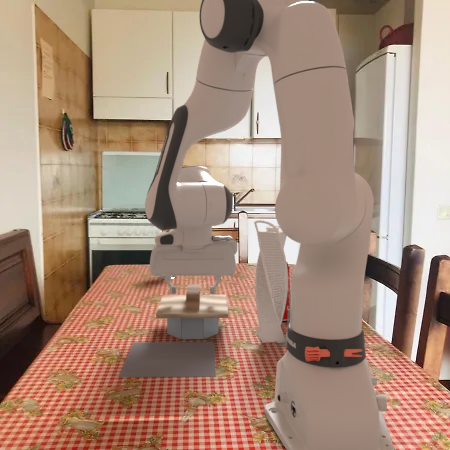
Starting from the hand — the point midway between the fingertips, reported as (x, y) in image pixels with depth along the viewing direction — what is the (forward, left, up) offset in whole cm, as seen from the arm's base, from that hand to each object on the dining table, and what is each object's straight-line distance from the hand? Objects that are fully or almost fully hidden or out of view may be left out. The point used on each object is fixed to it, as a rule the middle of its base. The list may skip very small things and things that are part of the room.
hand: (193, 293), depth 114 cm
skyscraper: (-6, -18, -10) cm, 21 cm away
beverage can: (+10, -22, -10) cm, 26 cm away
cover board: (0, 0, -3) cm, 3 cm away
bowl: (0, 0, -9) cm, 9 cm away
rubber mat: (-17, +4, -9) cm, 20 cm away
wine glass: (+59, +11, -10) cm, 61 cm away
